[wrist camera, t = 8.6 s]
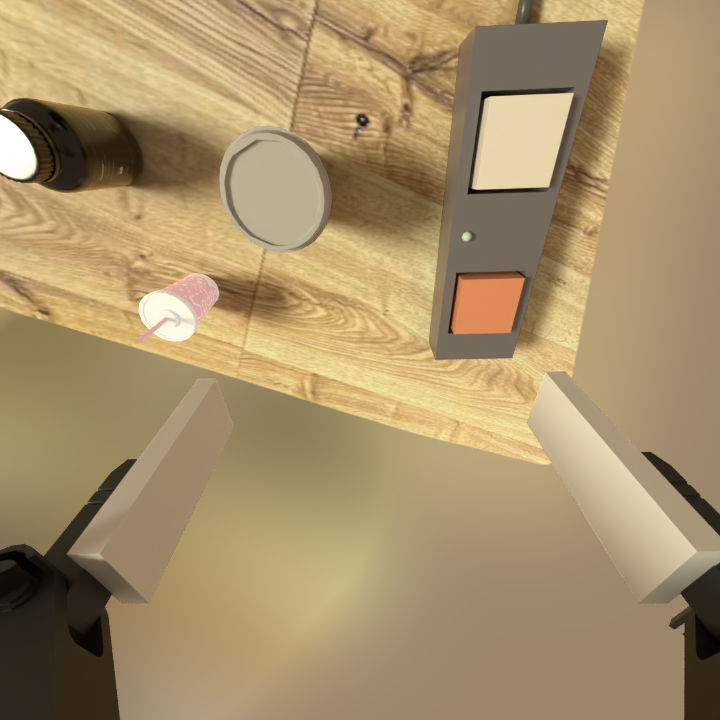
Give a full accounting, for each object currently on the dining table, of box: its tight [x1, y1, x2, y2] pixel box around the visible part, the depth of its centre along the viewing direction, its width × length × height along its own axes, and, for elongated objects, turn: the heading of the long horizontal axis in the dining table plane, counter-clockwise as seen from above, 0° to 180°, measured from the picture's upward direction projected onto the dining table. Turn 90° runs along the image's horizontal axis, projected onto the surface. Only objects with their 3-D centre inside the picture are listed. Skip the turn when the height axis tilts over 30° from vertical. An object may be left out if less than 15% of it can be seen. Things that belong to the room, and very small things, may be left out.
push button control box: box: [429, 0, 608, 360], centre depth 34 cm, size 36×10×6 cm, turn 2°
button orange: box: [449, 271, 525, 334], centre depth 39 cm, size 7×7×5 cm
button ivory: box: [468, 93, 574, 190], centre depth 30 cm, size 7×7×5 cm
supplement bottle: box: [0, 98, 142, 193], centre depth 29 cm, size 7×7×12 cm
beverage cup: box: [138, 273, 219, 342], centre depth 37 cm, size 6×6×14 cm
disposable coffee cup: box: [219, 126, 332, 252], centre depth 30 cm, size 10×10×12 cm
